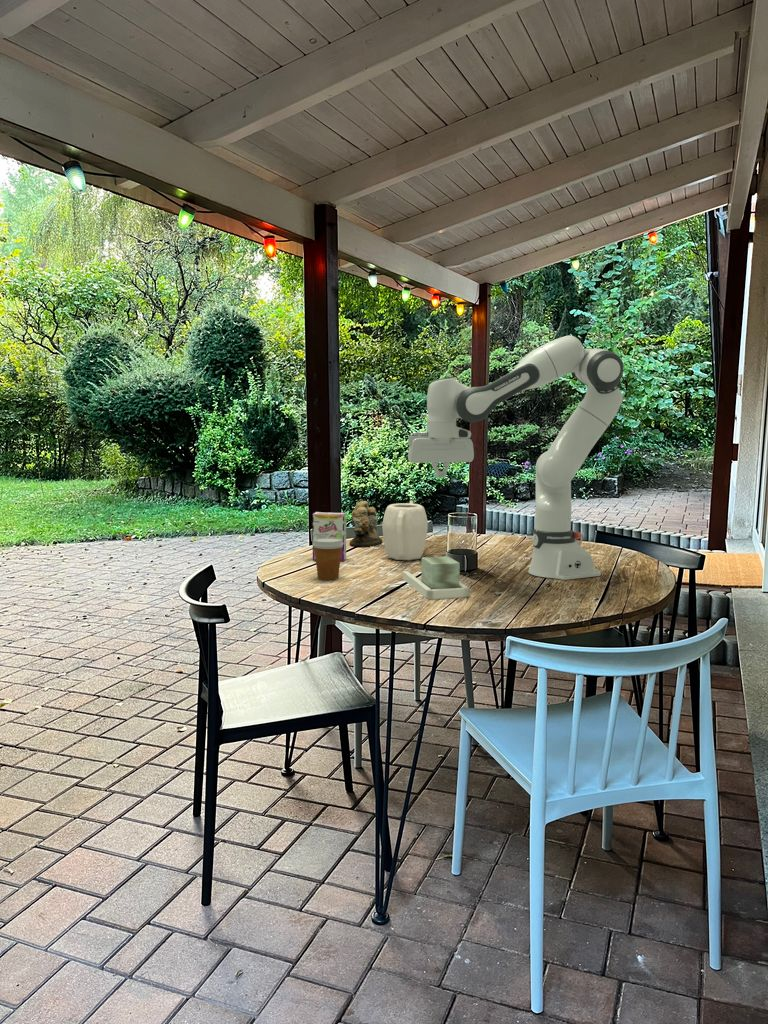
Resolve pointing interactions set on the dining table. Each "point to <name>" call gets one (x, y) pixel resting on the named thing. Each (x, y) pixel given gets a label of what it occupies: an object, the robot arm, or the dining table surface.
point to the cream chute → (436, 593)
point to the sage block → (440, 572)
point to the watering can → (405, 531)
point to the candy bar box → (330, 528)
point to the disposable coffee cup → (327, 557)
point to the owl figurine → (365, 526)
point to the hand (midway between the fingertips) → (440, 477)
